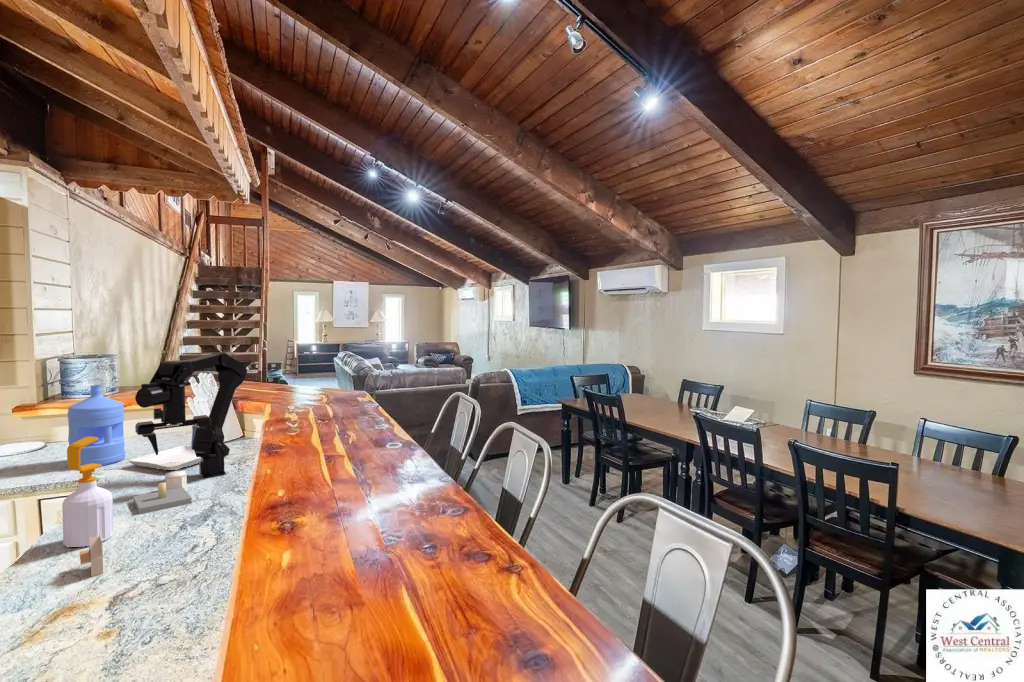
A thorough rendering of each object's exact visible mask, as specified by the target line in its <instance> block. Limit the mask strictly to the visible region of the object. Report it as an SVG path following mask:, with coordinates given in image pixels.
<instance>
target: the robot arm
mask: <svg viewBox="0 0 1024 682" xmlns="http://www.w3.org/2000/svg"><path fill="white" fill-rule="evenodd" d="M212 367H213V370H214V371H215V373H216V372H217V373H218V374H217V380H218V383H219V385H218V389H217V390H218V391H217V393H216V396H215V398H214V401H213V404H212V406H211V410H210V412H209V415H206V414H203V415H201V414H200V415H193V418H192V419H186V387H187V386H191V384H192V383H191V382H190V381H188V380H187V379H188V378H190V377H191V376H192V375H193V374H194V373H195V372H199V371H202V370H206V369H210V368H212ZM247 373H248V370H247V368H246V365H245V364H243V363H242V362H240V361H239V360H238V359H235V358H233V357H231V356H230V355H229V354H228V353H226V352H214V351H213V352H211V353H209V354H204V355H201V356H198V357H197V356H196V357H194V358H189V359H185V360H182V359H181V360H163V361H161V362H160V363H159V365H158V368H157V369H156V371H155V373H154V374H153V376H152V377H151V378H150V381H149V383H141V385H140V386H141V388H140V389H138V390H137V392H136V394H135V397H134V398H135V403H136V404H137V406H139V407H140V408H143V409H145V408H146V409H147V408H151V407H156V406H161V405H162V408H161V407H160V408H158V407H157V408H154V409H153V420H160V422H158V423H155V422H153V421H152V420H149V421H147V420H146V421H139V422H137V423H136V424H135V425H134V426H135V433H136V435H137V436H142V437H143V438H147V439H148V441H149V442H150V443H151V447H152V449H153V451H154V453H155V454H156V455H158V452H159V448H158V440H157V434H156V433H155V431H156V430H166V429H172V428H180V427H188V426H189V427H190V426H192V427H191V428H192V429H191V430H192V433H191V434H192V435H191V445H190V446H191V448H192V450H194V451H195V454H196V457H201V461H200V462H199V464H198V469H199V470H198V471H199V474H200V476H202V477H203V479H207V478H211V477H217V476H222V475H227V472H226V471H225V458H226V457H228V456H229V453H230V450H231V448H229V446H227V444H226V443H224V441H225V434H224V432H223V428H224V424H225V422H226V418H227V415H228V412H229V409H230V407H231V404H232V400H233V397H234V394H235V391H236V389H237V388H238V387H239V386H240V385H242V384H243V382H244V381H245V378H246V376H247Z"/></svg>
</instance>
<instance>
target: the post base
mask: <svg viewBox="0 0 1024 682" xmlns="http://www.w3.org/2000/svg"><path fill="white" fill-rule="evenodd" d="M132 499H133V500H132V502H133V504H134V507H135V509H136V510H137V512H138V514H139V515H142V514H147V513H151V511H152V512H156V511H160V510H164V509H169V508H170V509H171V508H174V507H178V506H183V505H188V504H192V497H191V495H190V494H189V493H188V491H186V489H184V488H183V487H181V488H175V489H170V490H166V483H165V481H164V482H159V483H158V484H157V491H156V492H149V493H144V494H139V495H135V496H132ZM146 512H147V513H146ZM141 513H142V514H141Z"/></svg>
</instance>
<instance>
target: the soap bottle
mask: <svg viewBox="0 0 1024 682" xmlns="http://www.w3.org/2000/svg"><path fill="white" fill-rule="evenodd" d="M97 440H98V437H92V436H88V437H85V438H83V439H81V440H79V441H76V442H74V443H72V444H71V445H69V444H68V446H67V449H66V461H67V464H66V465H67V468H68V469H69V470H72V471H79V474H80V475H82V477H81V478H78V480H77V482H78V483H77V485H78V486H77V487H78V488H77V490H75V491H73V492H72V493H70V494H69V495H68V496H67V497H65V499H63V502H62V505H61V506H62V508H61V510H62V515H61V516H62V542H63V543H62V545H63V546H64V545H65V546H68V547H67V548H69V547H82V548H86V547H85V546H87V547H90V538H91V537H96V536H99V532H100V533H101V537H102V543H103V541H104V542H105V541H107V540H109V539H111V538H112V536H113V535H114V517H113V516H114V512H113V511H114V509H113V508H114V507H113V505H114V504H113V494H112V492H111V491H110V490H108V489H106V488H104V487H100V486H98V485H97V484H98V483H97V477H96V476H93V473H94V472H95V471H96V469H98V468H102V467H103V466H102V465H101V464H95V463H91V464H86V465H82V466H81V463H80V452H81V449H82V448H83V447H85V446H87V445H89V444H91V443H93V442H95V441H97ZM65 546H64V547H65Z"/></svg>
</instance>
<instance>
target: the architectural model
mask: <svg viewBox="0 0 1024 682" xmlns="http://www.w3.org/2000/svg"><path fill="white" fill-rule="evenodd" d="M103 552H104V551H103V542H102V537H101V533H100V532H99V536H96V537H91V538H90V546H88V549H87V550H82V551H79V554H78V555H79V561H80V566H85V565H88V564H89V565H90V571H91V573H90V575H91V578H92V577H93V578H94V577H96V576H100V575H103V574H104V553H103Z"/></svg>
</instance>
